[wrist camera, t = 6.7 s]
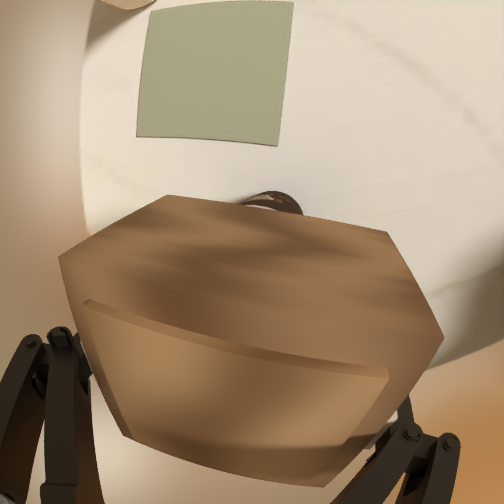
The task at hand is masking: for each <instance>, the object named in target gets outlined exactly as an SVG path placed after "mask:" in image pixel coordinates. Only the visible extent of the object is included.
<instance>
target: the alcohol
mask: <svg viewBox="0 0 504 504" xmlns="http://www.w3.org/2000/svg"><path fill="white" fill-rule="evenodd" d="M101 1H103V2H106V3H108V4H111V5H113V6H116V7H118V8H120V9H124V10H132V9H136V8H140V7H143V6H145V5H148V4H150V3H151V2H153V1H155V0H101Z"/></svg>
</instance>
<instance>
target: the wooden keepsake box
mask: <svg viewBox="0 0 504 504" xmlns="http://www.w3.org/2000/svg"><path fill="white" fill-rule="evenodd" d="M58 258H59V263H60V267H61V272H62V277H63V281H64V284H65V289H66V293H67V297H68V300H69V304H70V308H71V311H72V314H73V318H74V321H75V324H76V327H77V330H78V333H79V336H80V339H81V342H82V345H83V348H84V351H85V353H86V356H87V359H88V361H89V364H90V366H91V369H92V371H93V374H94V376H95V379H96V381H97V383H98V386H99V388H100V390H101V392H102V394H103V397H104V399H105V401H106V403H107V405H108V407H109V409H110V411H111V413H112V415H113V417H114V419H115V421H116V423H117V425H118V427H119V429H120V431H121V433H122V434H123V436H125V437H128V438H130V439H132V440H134V441H136V442H139V443H141V444H143V445H146V446H148V447H151V448H153V449H156V450H158V451H161V452H163V453H166V454H169V455H172V456H174V457H177V458H180V459H183V460H186V461H189V462H193V463H195V464H198V465H202V466H206V467H209V468H213V469H216V470H220V471H223V472H227V473H232V474H236V475H240V476H245V477H250V478H254V479H260V480H265V481H272V482H278V483H285V484H293V485H301V486H312V487H325V486H326V485H327V484H328V483H329V482H330V481H332V479H334V478H335V477H336V476H337V475H338V474H339V473H340V472H341V471H342V470H343V469H344V468H345V467H346V466H347V465H348V464H349V463H350V462H351V461H352V460H353V459H354V458H355V457H356V456H357V455H358V454H359V453H360V452H361V451H362V450H363V449H364V448H365V447H366V446H367V445H368V443H369V442H370V441H371V440H372V439H373V438H374V437H375V436H376V434H377V433H378V432H379V431H380V430H381V429H382V427H383V426H384V425H385V424H386V423H387V421H388V420H389V419H390V418H391V416H392V415H393V414H394V413H395V411H396V410H397V409H398V408H399V406H400V405H401V404H402V402H403V401H404V400H405V398H406V397H407V396H408V394H409V393H410V391H411V390H412V389H413V387H414V386H415V384H416V383H417V381H418V380H419V378H420V377H421V375H422V374H423V372H424V371H425V369H426V368H427V366H428V365H429V363H430V361H431V360H432V358H433V357H434V355H435V353H436V352H437V350H438V348H439V347H440V345H441V343H442V341H443V340H444V335H443V333H442V331H441V329H440V327H439V325H438V323H437V320H436V318H435V316H434V314H433V312H432V310H431V308H430V306H429V304H428V302H427V300H426V299H425V297H424V295H423V293H422V291H421V289H420V287H419V285H418V284H417V282H416V280H415V278H414V276H413V275H412V273H411V271H410V269H409V268H408V266H407V264H406V262H405V261H404V259H403V257H402V256H401V254H400V252H399V251H398V249H397V247H396V246H395V244H394V242H393V241H392V239H391V238H390V236H389V234H388V233H387V232H385V231H380V230H376V229H371V228H366V227H361V226H356V225H351V224H346V223H341V222H336V221H331V220H326V219H321V218H315V217H310V216H304V215H299V214H293V213H287V212H282V211H276V210H270V209H264V208H258V207H251V206H245V205H239V204H232V203H225V202H218V201H211V200H204V199H197V198H190V197H182V196H174V195H166V196H164V197H162V198H160V199H158V200H156V201H154V202H152V203H150V204H148V205H146V206H144V207H143V208H141V209H139V210H137V211H135V212H133V213H131V214H129V215H128V216H126V217H124V218H122V219H120V220H119V221H117V222H115V223H113V224H111V225H110V226H108V227H106V228H104V229H103V230H101V231H99V232H98V233H96V234H94V235H93V236H91V237H89V238H87V239H86V240H85V241H82V242H81V243H79V244H78V245H76V246H74V247H73V248H71V249H70V250H68V251H66V252H65V253H63V254H62V255H60V256H59V257H58Z"/></svg>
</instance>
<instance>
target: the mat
mask: <svg viewBox="0 0 504 504" xmlns="http://www.w3.org/2000/svg"><path fill="white" fill-rule="evenodd" d="M293 5H294V2H283V1H225V2H211V3H200V4H191V5H184V6H177V7H171V8H165V9H160V10H154V11H151V15H150V21H149V26H148V32H147V38H146V44H145V51H144V58H143V65H142V74H141V83H140V93H139V105H138V119H137V137H184V138H203V139H217V140H229V141H240V142H250V143H258V144H267V145H274V146H278V141H279V133H280V124H281V116H282V107H283V98H284V89H285V81H286V71H287V62H288V53H289V44H290V34H291V24H292V15H293Z"/></svg>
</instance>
